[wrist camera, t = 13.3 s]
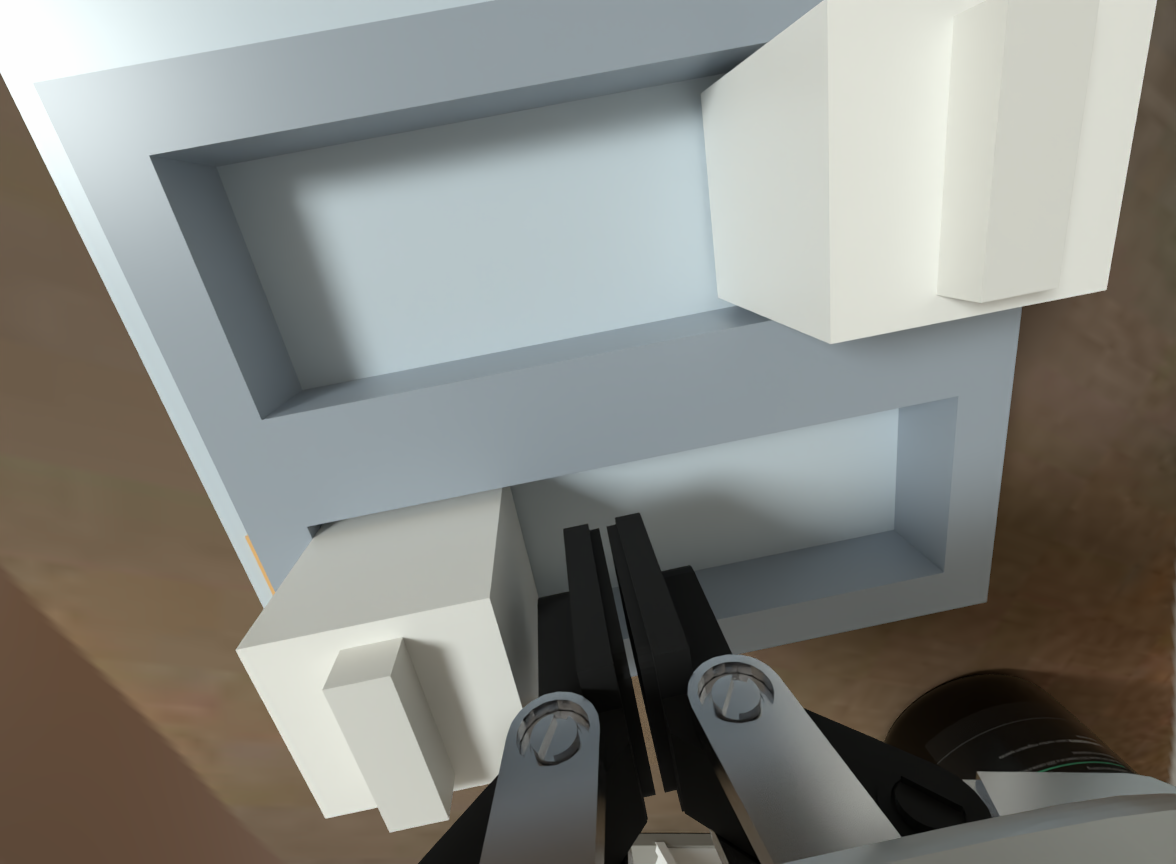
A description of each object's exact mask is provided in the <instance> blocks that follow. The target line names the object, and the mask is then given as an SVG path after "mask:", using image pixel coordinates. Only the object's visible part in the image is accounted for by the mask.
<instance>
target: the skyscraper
mask: <svg viewBox="0 0 1176 864" xmlns="http://www.w3.org/2000/svg"><path fill="white" fill-rule="evenodd" d="M631 850H632V856H633V864H722V862H721V860H720V858H719V856H718V853H717V851H716V849H715V847H714V844H713V841H712V838H711V834H639V835H638V837H637V839H636V840H635V842H634V843H633V845H632V847H631Z"/></svg>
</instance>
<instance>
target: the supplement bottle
mask: <svg viewBox="0 0 1176 864" xmlns="http://www.w3.org/2000/svg"><path fill="white" fill-rule="evenodd" d="M885 743H886V744H889V745H891V746H894V747H896V748H898V749H901V750H903V751H905V752H908V753H910V754H912V755H915V756H917V757H919V758H922V759H924V760H926V761H929V762H931V763H933V764H936V765H938V766H940V767H942V768H944V769H945V770H947V771H949V772H951V773H953V774H955V775H956V776H958V777H959V778H960V779H962V780H976V774H977V771H978V772H1070V773H1129V774H1136V775H1139V774H1137V773H1136V772H1135V771H1134V770H1133V769H1132V768H1131V767H1130V766H1129V765H1128V764H1126V763H1125V762H1124V761H1123V760H1122V759H1121V758H1120V757H1119V756H1118V755H1117V754H1116V753H1114V752H1113V751H1112V750H1111V749H1110V748H1109V747H1108V746H1107V745H1106V744H1105V743H1103V742H1102V741H1101V740H1100V739H1099V738H1098V737H1097V736H1096V735H1095V734H1094V733H1093V732H1091V731H1090V730H1089V729H1088V728H1087V727H1086V726H1085V725H1084V724H1083V723H1082V722H1080V721H1079V720H1078V719H1077V718H1076V717H1075V716H1074V715H1073V714H1071V713H1070V712H1069V711H1068V710H1067V709H1066V708H1065V707H1064V706H1063V705H1061V704H1060V703H1059V702H1058V701H1057V700H1056V699H1055V698H1054V697H1052V696H1051V695H1050V694H1049V693H1047V692H1046V691H1045V690H1043V689H1042V688H1041V687H1039V686H1037V685H1035V684H1034V683H1032V682H1030V681H1027V680H1025V679H1022V678H1018V677H1015V676H1010V675H1004V674H980V675H973V676H967V677H963V678H960V679H957V680H954V681H951V682H948V683H946V684H943V685H941V686H939V687H937V688H935V689H933V690H932V691H930V692H928V693H927V694H925V695H924V696H922V697H921V698H919V699H918V700H917V701H915V702H914V703H913V704H912V705H911V706H909V707H908V708H907V709H906V710H905V711H904V712H903V713H902V714H901V716H900V717H899V718H898V719H897V720H896V722H895V723H894V725H893V726H892V728H891V729H890V731H889V733H888V735H887V737H886V740H885Z"/></svg>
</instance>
